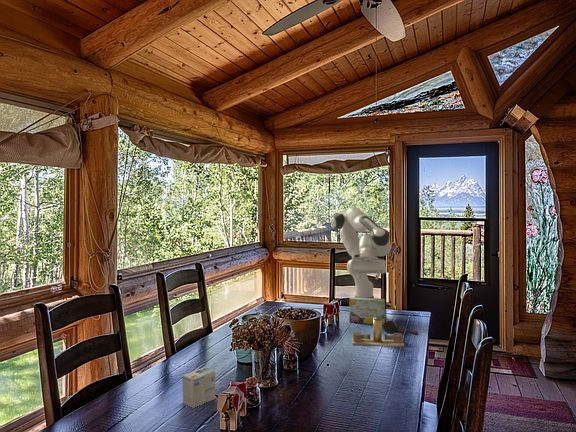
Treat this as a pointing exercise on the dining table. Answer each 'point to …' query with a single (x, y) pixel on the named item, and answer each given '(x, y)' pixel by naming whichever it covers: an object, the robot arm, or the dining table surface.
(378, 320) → the coupler
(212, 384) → the light bulb box
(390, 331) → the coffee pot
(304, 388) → the dining table surface
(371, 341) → the shaft rig
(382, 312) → the snack box
